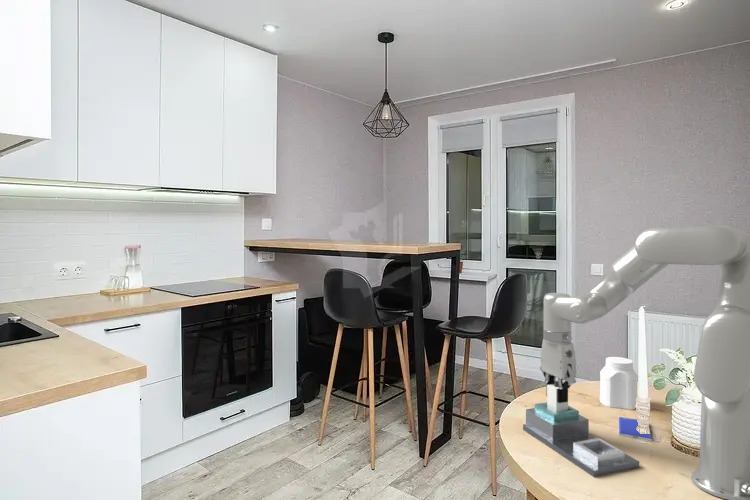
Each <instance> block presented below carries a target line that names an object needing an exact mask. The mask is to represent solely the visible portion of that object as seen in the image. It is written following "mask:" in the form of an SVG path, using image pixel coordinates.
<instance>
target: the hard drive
mask: <svg viewBox="0 0 750 500" xmlns="http://www.w3.org/2000/svg"><path fill="white" fill-rule="evenodd" d="M637 420H638V419H635V418H629V417H621V416H620V417H618V436H620V437H626V438H632V439H638V440H644V441H649V442H652V441H653V437H652V433H651V434H640V433H639V432H638V431H637V430H636V427H637V426H638V422H637ZM649 427H650V428H651V426H650V424H649Z"/></svg>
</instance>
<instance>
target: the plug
mask: <svg viewBox="0 0 750 500" xmlns="http://www.w3.org/2000/svg"><path fill="white" fill-rule="evenodd" d="M558 388H559V383H558V380H555V382H554V384H550V385H547V396H546V402H547V409H549V410H551V411H553V412H555V413H556V412H562V411H568V406H569V401H568V402H563V403H559V402H557V389H558Z"/></svg>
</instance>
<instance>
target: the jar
mask: <svg viewBox="0 0 750 500" xmlns="http://www.w3.org/2000/svg"><path fill="white" fill-rule="evenodd" d="M599 377H600V379H599V380H600V381H599V383H600V385H599V386H600V387H599V393H600V394H599V402H600V404H602V405H603V406H605V407H607V408H610V409H622V410H623V409H624V410H629V411H631V410H635V405H636V398H637V382H638V383H639V380H638V377H639V375H638V373H637V372H636V371H635V369H634V361H633V360H632V359H630V358H626V357H622V356H608V357H606V358H605V366H603V368H601V370H600V372H599Z"/></svg>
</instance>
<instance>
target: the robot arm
mask: <svg viewBox="0 0 750 500" xmlns="http://www.w3.org/2000/svg"><path fill="white" fill-rule="evenodd" d="M669 265H689V266H692V265H694V266H699V265H700V266H717V265H718V266H719V265H720V266H721V276H720V281H719V286H718V293H717V298H716V303H715V306H714V310H713V312H711V313H710V314H709V315H708V316H707V317H706V319H705V320H704V322H703V325H702V327H701V331H700V337H699V342H698V348H697V354H696V358H695V363H694V371H693V381H694V384H695V386H696V388H697V389H698V391H699V392H700V394H701V403H700V404H701V408H700V432H699V433H700V435H699V436H700V437H699V438H700V440H699V468H697V469H694V470H692V472H691V474H690V475H691V478H690V479H691V481H692V483H693V484H694V485H695V486H697V488H699V489H700V490H702V491H704V492H706V493H708V494H710V495H712V496H715V497H718V498H721V499H724V500H750V234H749V233H747V232H745V231H743V230H741V229H739V228H737V227H734V226H730V225H703V226H702V225H701V226H679V227H678V226H672V227H669V226H667V227H666V226H653V227H648V228H647V229H644V230H643V231H642V232H640V233H639V234H638V235H637V237H636V239H635V242H634V245H633V246H632V247H631V248H629V249H628V250H627V251H626V252H624V253H623V254H622V255H621V256H620V257H619V258H617V259H616V260H615V261H613V262H612V264H611V265H610V268H609V273H608V274H607V275H606V277H605V278H604V279H603V280H602V281H601V282H600V283H599V284H598V285H596V286H595V287H594V288H592V289H591V290H590V291H589V292H588V293H583V294H581V295H576V296H571V295H569V294H568V293H562V292H548V293H546V294H545V295H544V296H543V334H542V335H543V338H542V344H541V352H540V367H539V370H540V371H541V373H542V375H543V376H544V382H545V383H546V386H545V387H546V390H545V393H546V397H547V385H550V384H554V382H555V381H558V383H559V388H558V389H557V402H559V403H563V402H568V403H569V389H570V388H571V386H572V385H574V384H576V383H577V381H576V377H577V360H576V351H575V346H574V343H573V342H572V340H573V336H572V334H573V333H572V330H573V329H572V325H573V324H580V325H586V324H588V323H591V322H593V321H596V320H598V319H601V318H603V317H604V316H606V315H607V314H608V313H609V312H611V311H612V310H614V308H616V307H618V306H619V305H620V304H621V303H623V302H624V301H625V300H626V299H627V298H628V297H630V296H631V295H632V294H634V293H635V292H636V291H637V290H638V289H639V288H640V287H641V286H643V285H645V283H646V282H648V281H649V280H650V279H651V278H653V277H654V276H655V275H657V274H658V273H659V272H661V271H662V270H663V269H665V267H667V266H669ZM556 378H557V380H556Z"/></svg>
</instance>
